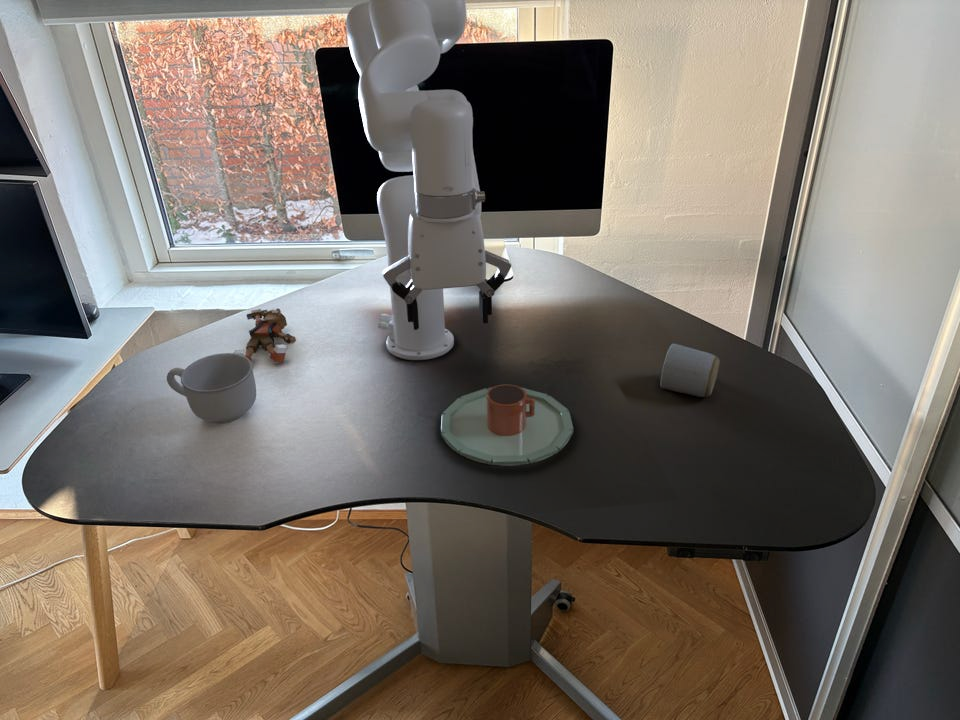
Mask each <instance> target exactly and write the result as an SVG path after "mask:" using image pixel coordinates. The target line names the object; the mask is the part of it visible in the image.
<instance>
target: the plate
mask: <svg viewBox="0 0 960 720" xmlns="http://www.w3.org/2000/svg"><path fill="white" fill-rule="evenodd" d="M491 388H492V387H487V388H486V387H485V388H483V389H482V388H481V389H479V390H476V391H473V392H470V393H467V394H464V395H461V396H460V397H458V398H456V399H455V400H454V401H453V402H452V403H451V404H450V405H449V406H447V408H446V409H444V411H443V412H442V413H441V420H440V422H441V423H440V436H441V438H442V439H443V440H444V442H445V443H446V444H447V445H448V447H450V448H451V449H452V451H454V452H456V453H457V455H459V456H461V457H465V458H467V459H469V460H472V461H475V462H478V463H482V464H487V465H489V466H490V465H492V466H509V467H510V466H521V465H529V464H533V463H537V462H540V461H543V460H545V459H547V458H549V457H552V456H553V455H555V454H557V453H559V452H560V451H562V449H563V448H564V447H565V446H566V445H567V444H568V443H569V441H570V439H571V437H572V436H573V435H574V425H573V420H572V416H571V412H570V410H569V409H568V408H567V407H566V406H564V405H563V404H562V403H560V402H559V401H558V400H557V399H555V398H554V397H552V396H551V395H549V394H548V393H543V392H539V391H536V390H533V389H528V388H526V387H521V388H522V389H524V390H525V392H526V394H527V398H532V399H534V400H535V414H534V416H532V417H526V428H525V429H524V430H523V431H522V432H521V433H519V434H516V435H512V436H501V435H497V434H494V433H492V432H491V431H490V430H489V429H488V428H487V405H486V394H487V392H488V390H489V389H491ZM526 412H529V404H527V406H526Z"/></svg>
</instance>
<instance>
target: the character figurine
mask: <svg viewBox="0 0 960 720" xmlns="http://www.w3.org/2000/svg"><path fill="white" fill-rule="evenodd" d="M246 318H247V320H248V321H249V320H253V321H254V320H255V324H254V325H255V326H254V327H253V328H252V329H249V330H248V333H249V336H250V339H249V340H248V342H247V344H246V346H245V349H235V350H234V351H233V354H239V355H242V356H244V357H246V358H248V359H249V360H250V361H251V362H252V356H253V355H254V354H257V352H258V351H259V349H260V346H261V348H262V349H263V350H264V351H265V352H267V353H268V354H269V358H270V360H272V361H273V362H274V364H275V363H277V364H278V363H279V364H280V363H284V362H285V359H286V358H285V357H286V354H287V350H288V347H287V346H286V345H285V344H275V339H279V338H280V339H281V340H283V342H284V343H286V344H287V345H290V344H295V342H297V339H296V336H294V335H292V334H290V333H284V332H282V331H283V330H284V329H285V327H286V326H288V323H287V317H286V316H284V314H282V311H281V309H280V308H278V307H277V308H276V309H269V310H268V309H260V308H258V309H253V310H251V312H250V313H246Z"/></svg>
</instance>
